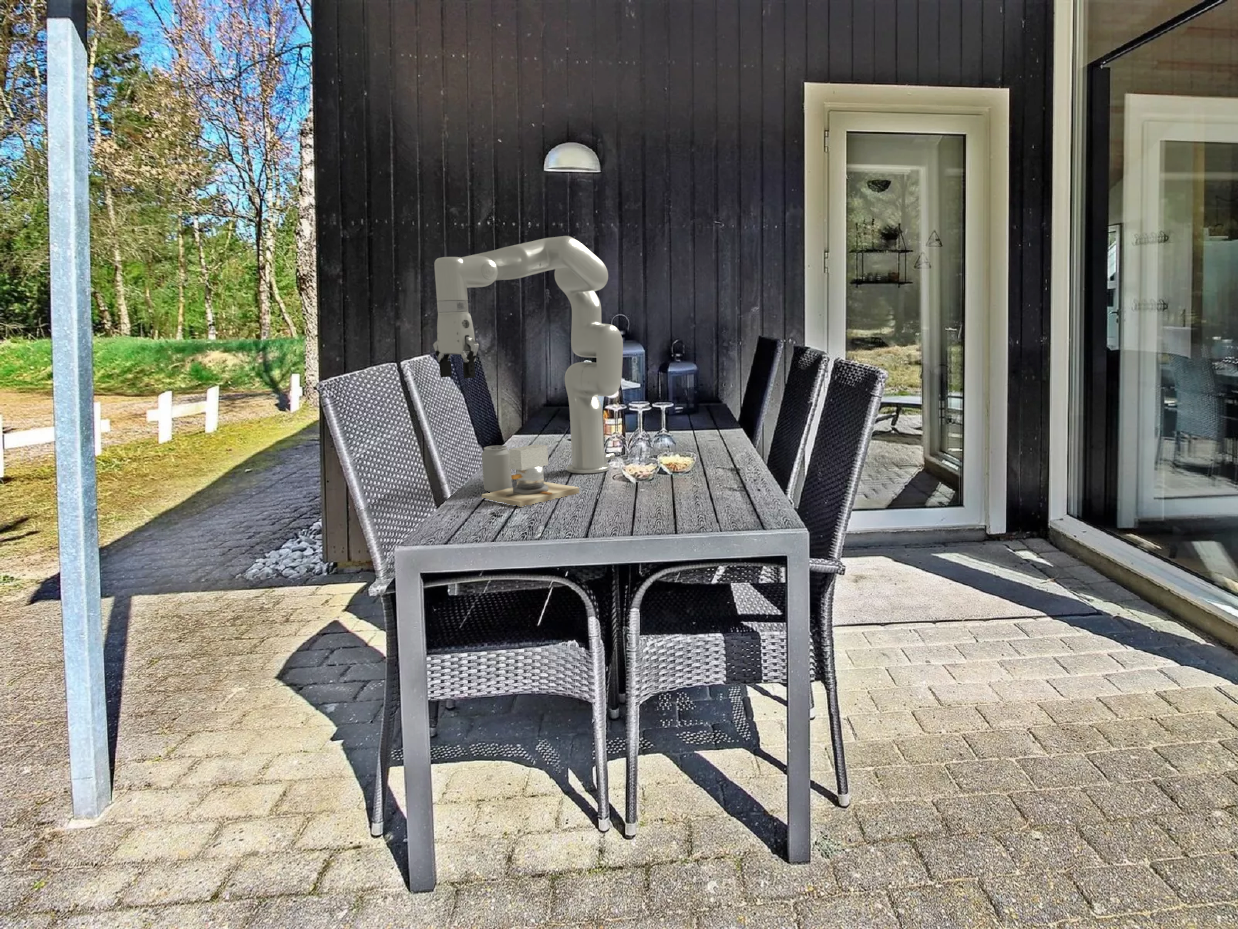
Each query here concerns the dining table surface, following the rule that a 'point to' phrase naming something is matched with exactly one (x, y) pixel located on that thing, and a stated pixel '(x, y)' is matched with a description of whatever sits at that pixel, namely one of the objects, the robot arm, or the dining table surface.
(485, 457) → the can
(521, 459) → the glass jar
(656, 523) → the dining table surface
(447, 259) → the robot arm
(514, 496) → the base plate
